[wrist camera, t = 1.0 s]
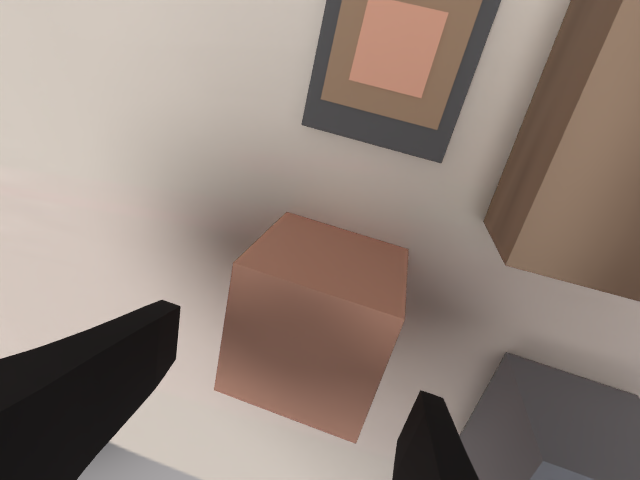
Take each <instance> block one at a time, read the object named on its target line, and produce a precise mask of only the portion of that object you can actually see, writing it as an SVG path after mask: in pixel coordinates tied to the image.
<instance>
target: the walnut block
mask: <svg viewBox="0 0 640 480" xmlns="http://www.w3.org/2000/svg"><path fill="white" fill-rule="evenodd" d="M483 222H484V224H485V226H486V228H487V230H488V232H489V234H490V236H491V238H492V240H493V242H494V244H495V246H496V248H497V250H498V252H499V254H500V256H501V258H502V260H503V262H504V264H505V265H506V266H510V267H513V268H517V269H521V270H524V271H528V272H532V273H536V274H539V275H543V276H547V277H551V278H554V279H558V280H562V281H566V282H569V283H573V284H577V285H580V286H584V287H588V288H592V289H595V290H599V291H603V292H607V293H610V294H614V295H618V296H621V297H625V298H629V299H633V300H636V301H640V0H571V2H570V4H569V7H568V9H567V12H566V14H565V17H564V19H563V22H562V24H561V27H560V30H559V32H558V35H557V37H556V40H555V42H554V45H553V47H552V50H551V52H550V55H549V57H548V60H547V62H546V65H545V67H544V70H543V72H542V75H541V77H540V80H539V82H538V85H537V87H536V90H535V93H534V95H533V98H532V100H531V103H530V105H529V108H528V110H527V113H526V115H525V118H524V120H523V123H522V125H521V128H520V130H519V133H518V135H517V138H516V140H515V143H514V145H513V148H512V151H511V153H510V156H509V158H508V161H507V163H506V166H505V168H504V171H503V173H502V176H501V178H500V181H499V183H498V186H497V188H496V191H495V193H494V196H493V198H492V201H491V203H490V206H489V208H488V211H487V214H486V216H485V219H484V221H483Z"/></svg>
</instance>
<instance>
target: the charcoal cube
mask: <svg viewBox="0 0 640 480" xmlns="http://www.w3.org/2000/svg"><path fill="white" fill-rule="evenodd" d="M460 439H461V441H462V443H463V446H464V448H465V450H466V452H467V454H468V457H469V459H470V461H471V463H472V465H473V467H474V469H475V471H476V474H477V476H478V478H479V480H640V399H639V397H638V396H637V395H634V394H631V393H628V392H625V391H622V390H619V389H616V388H613V387H610V386H607V385H604V384H601V383H598V382H595V381H592V380H589V379H586V378H583V377H580V376H577V375H574V374H571V373H568V372H565V371H562V370H559V369H556V368H553V367H550V366H547V365H544V364H541V363H538V362H535V361H532V360H529V359H526V358H523V357H520V356H516V355H513V354H510V353H507V352H506V353H505V355H504V357H503V359H502V361H501V362H500V364H499V366H498V368H497V370H496V371H495V373H494V375H493V377H492V379H491V380H490V382H489V384H488V386H487V388H486V389H485V391H484V393H483V395H482V397H481V398H480V400H479V402H478V404H477V406H476V407H475V409H474V411H473V413H472V415H471V416H470V418H469V420H468V422H467V424H466V425H465V427H464V429H463V431H462V433H461V434H460Z"/></svg>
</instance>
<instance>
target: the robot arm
mask: <svg viewBox="0 0 640 480" xmlns="http://www.w3.org/2000/svg"><path fill="white" fill-rule="evenodd" d="M179 318H180V306H178V305H175V304H173V303H170V302H167V301H164V300H160V301H157V302H155V303H152V304H150V305H147V306H145V307H142V308H140V309H137V310H135V311H133V312H130V313H128V314H125V315H123V316H121V317H118V318H116V319H113V320H111V321H108V322H106V323H103V324H101V325H98V326H96V327H93V328H91V329H88V330H86V331H83V332H80V333H77V334H75V335H72V336H69V337H66V338H64V339H61V340H58V341H55V342H53V343H50V344H47V345H44V346H41V347H38V348H35V349H32V350H29V351H26V352H22V353H19V354H16V355H12V356H9V357H5V358H2V359H0V480H77V479H78V477H79V476H80V475H81V473H82V472H83V471H84V470H85V468H86V467H87V466H88V465H89V464H90V462H91V461H92V460H93V459H94V458H95V456H96V455H97V454H98V453H99V452H100V451H101V450H102V448H103V447H104V446H105V445H106V444H107V443H108V442H109V441H110V440H111V438H112V437H113V436H114V435H115V434H116V433H117V432H118V431H119V429H120V428H121V427H122V426H123V425H124V424H125V423H126V422H127V420H128V419H129V418H130V417H131V416H132V415H133V414H134V413H135V412H136V410H137V409H138V408H139V407H140V406H141V405H142V404H143V402H144V401H145V400H146V399H147V398H148V397H149V396H150V394H151V393H152V392H153V391H154V390H155V389H156V387H157V386H158V384H159V383H160V382H161V380H162V379H163V377H164V376H165V374H166V373H167V371H168V370H169V369H170V367H171V366H172V364H173V363H174V361H175V360H176V352H177V340H178V329H179ZM392 480H479V478H478V476H477V474H476V471H475V469H474V467H473V465H472V463H471V461H470V459H469V457H468V454H467V452H466V450H465V448H464V446H463V443H462V441H461V439H460V436H459V434H458V432H457V430H456V427H455V425H454V422H453V420H452V418H451V415H450V413H449V411H448V408H447V406H446V403H445V401H444V399H443V398H441V397H439V396H436V395H433V394H430V393H427V392H424V391H421V390H420V392H419V395H418V397H417V399H416V401H415V403H414V405H413V408H412V410H411V412H410V414H409V416H408V418H407V421H406V423H405V425H404V427H403V429H402V432H401V434H400V436H399V438H398V440H397V447H396V454H395V462H394V470H393V479H392Z"/></svg>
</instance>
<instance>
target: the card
mask: <svg viewBox="0 0 640 480" xmlns="http://www.w3.org/2000/svg"><path fill="white" fill-rule="evenodd" d="M500 2H501V0H327V1H326V6H325V11H324V16H323V21H322V26H321V31H320V36H319V41H318V46H317V50H316V55H315V60H314V65H313V70H312V75H311V80H310V85H309V90H308V95H307V100H306V105H305V110H304V115H303V120H302V125H304V126H307V127H311V128H315V129H318V130H322V131H325V132H329V133H333V134H336V135H340V136H344V137H347V138H351V139H355V140H358V141H362V142H365V143H369V144H373V145H376V146H380V147H384V148H387V149H391V150H394V151H398V152H402V153H405V154H409V155H413V156H416V157H420V158H424V159H427V160H431V161H434V162H438V163H442V160H443V157H444V155H445V152H446V149H447V146H448V144H449V141H450V138H451V136H452V133H453V130H454V127H455V125H456V122H457V119H458V116H459V114H460V111H461V108H462V106H463V103H464V100H465V97H466V95H467V92H468V89H469V86H470V84H471V81H472V78H473V76H474V73H475V70H476V67H477V65H478V62H479V59H480V56H481V54H482V51H483V48H484V46H485V43H486V40H487V37H488V35H489V32H490V29H491V26H492V24H493V21H494V18H495V15H496V13H497V10H498V7H499V5H500Z"/></svg>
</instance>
